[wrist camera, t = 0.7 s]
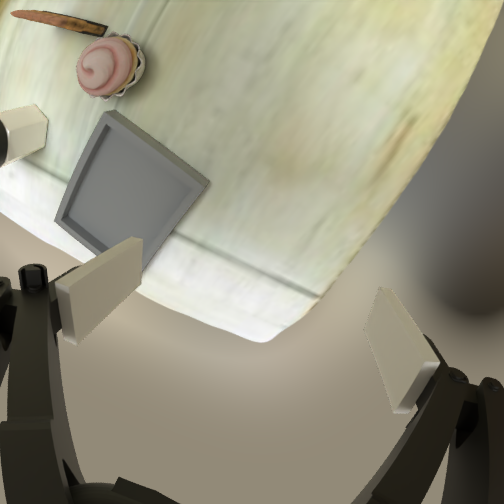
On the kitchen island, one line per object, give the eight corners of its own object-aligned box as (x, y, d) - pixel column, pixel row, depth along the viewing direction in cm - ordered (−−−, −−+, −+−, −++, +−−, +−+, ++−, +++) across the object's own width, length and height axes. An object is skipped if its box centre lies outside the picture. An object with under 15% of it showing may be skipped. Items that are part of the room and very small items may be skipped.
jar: (11, 132, 35) (-37, 151, 25) (29, 96, 32) (-23, 107, 22) (36, 163, 38) (-12, 188, 28) (56, 127, 35) (3, 145, 25)
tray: (114, 109, 34) (104, 111, 32) (209, 180, 39) (205, 187, 37) (63, 213, 43) (53, 221, 40) (140, 273, 48) (133, 283, 45)
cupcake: (87, 82, 32) (43, 86, 23) (120, 27, 28) (80, 15, 19) (132, 111, 35) (94, 119, 26) (170, 54, 31) (138, 43, 22)
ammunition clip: (56, 24, 26) (4, 18, 16) (61, 14, 26) (10, 6, 15) (102, 37, 29) (50, 28, 18) (108, 26, 28) (57, 13, 17)
